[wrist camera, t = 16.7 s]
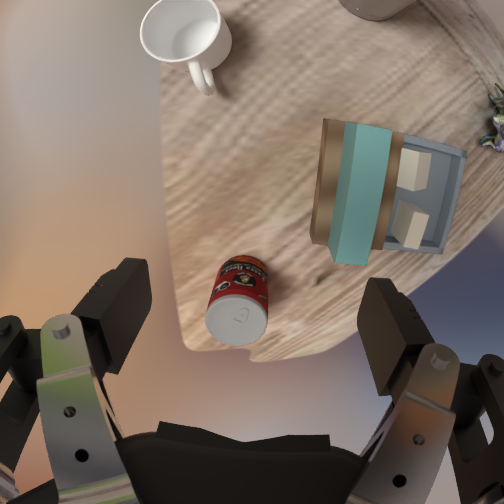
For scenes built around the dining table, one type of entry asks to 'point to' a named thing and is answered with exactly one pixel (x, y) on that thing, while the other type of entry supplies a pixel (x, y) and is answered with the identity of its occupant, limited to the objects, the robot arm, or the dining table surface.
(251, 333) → the canned food
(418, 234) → the tile
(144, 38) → the cup
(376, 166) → the teal rectangular block
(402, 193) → the tray
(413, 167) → the tile
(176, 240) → the dining table surface
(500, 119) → the passion flower
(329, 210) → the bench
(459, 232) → the dining table surface
